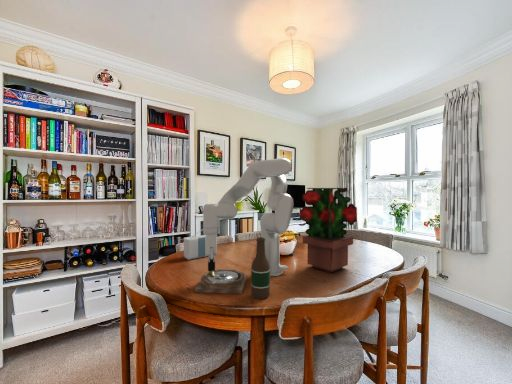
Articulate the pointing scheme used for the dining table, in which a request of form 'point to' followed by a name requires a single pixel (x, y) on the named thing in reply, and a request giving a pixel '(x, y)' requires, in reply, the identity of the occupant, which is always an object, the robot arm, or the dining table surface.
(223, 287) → the dial housing
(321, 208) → the potted plant
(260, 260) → the beer bottle
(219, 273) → the dial
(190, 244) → the stereo radio cassette player
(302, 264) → the dining table surface
